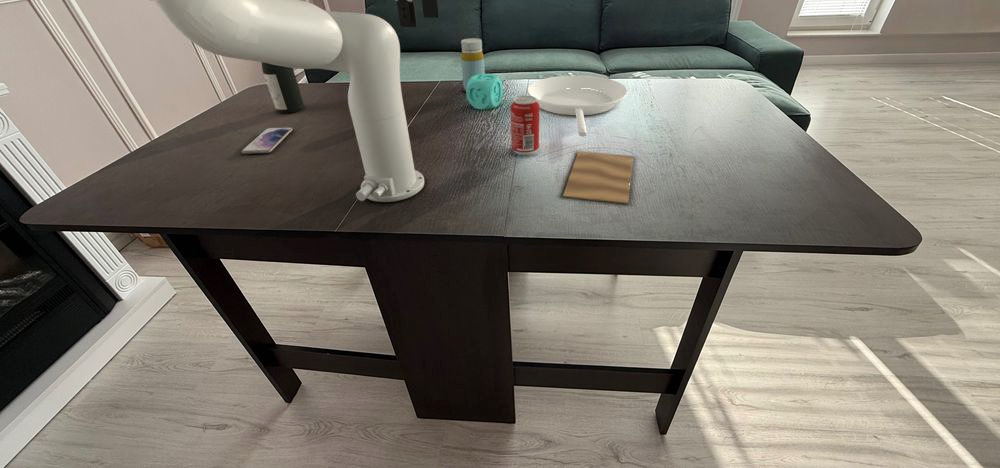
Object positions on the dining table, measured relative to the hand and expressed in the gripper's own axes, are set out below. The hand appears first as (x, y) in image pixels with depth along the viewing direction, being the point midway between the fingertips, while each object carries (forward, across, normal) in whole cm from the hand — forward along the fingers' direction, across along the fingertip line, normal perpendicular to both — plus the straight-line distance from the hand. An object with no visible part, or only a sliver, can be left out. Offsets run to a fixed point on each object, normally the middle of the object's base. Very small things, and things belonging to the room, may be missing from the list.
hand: (420, 21), depth 80 cm
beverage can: (+28, +8, -18) cm, 35 cm away
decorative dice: (+28, +37, +1) cm, 47 cm away
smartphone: (+28, 0, +47) cm, 55 cm away
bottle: (+28, +50, +9) cm, 58 cm away
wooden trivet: (+28, 0, -36) cm, 46 cm away
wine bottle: (+28, +22, +58) cm, 68 cm away
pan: (+28, +36, -26) cm, 53 cm away
